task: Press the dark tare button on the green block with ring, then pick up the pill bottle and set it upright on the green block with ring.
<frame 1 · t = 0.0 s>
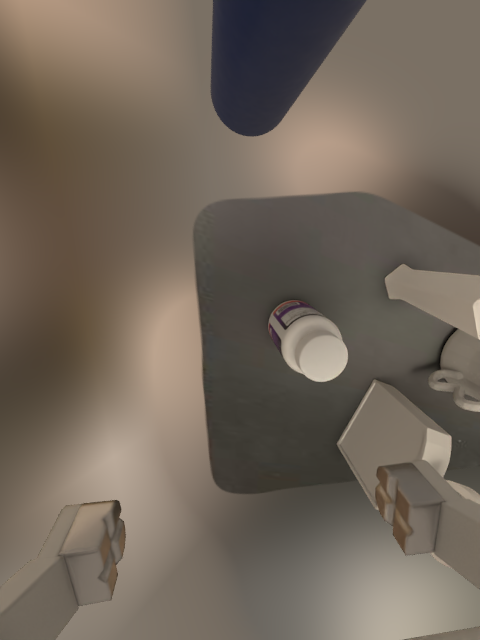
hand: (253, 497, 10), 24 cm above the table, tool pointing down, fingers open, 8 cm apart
pill bottle: (291, 322, 35), on the table
mug: (458, 356, 38), on the table
perfume bottle: (398, 282, 35), on the table
gravestone: (363, 414, 39), on the table
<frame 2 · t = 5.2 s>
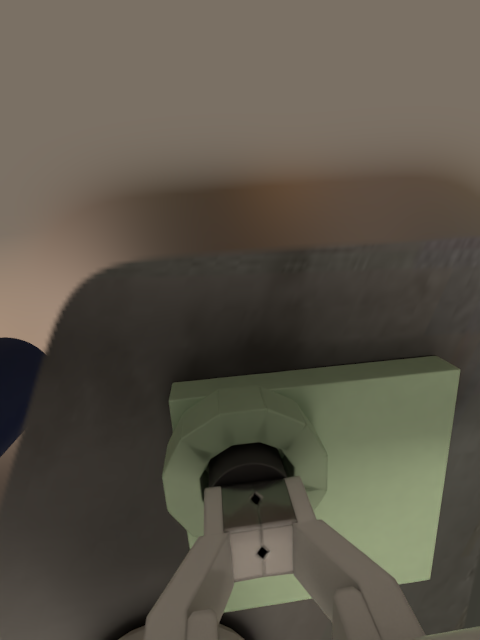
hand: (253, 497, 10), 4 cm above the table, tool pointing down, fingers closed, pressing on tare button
green block with ring: (308, 478, 15), on the table
tare button: (247, 477, 11), point 3 cm above the table, slide at -0.7 cm, touching gripper
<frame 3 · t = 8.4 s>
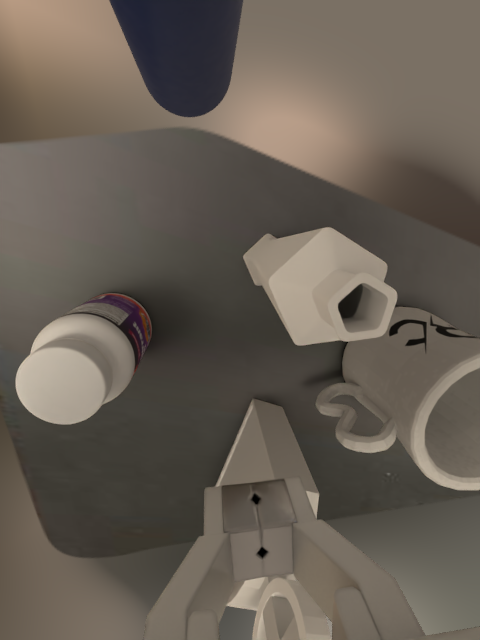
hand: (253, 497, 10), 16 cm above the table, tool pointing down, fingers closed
pill bottle: (117, 325, 24), on the table
mug: (371, 361, 27), on the table
perfume bottle: (266, 260, 24), on the table
gravestone: (247, 446, 28), on the table
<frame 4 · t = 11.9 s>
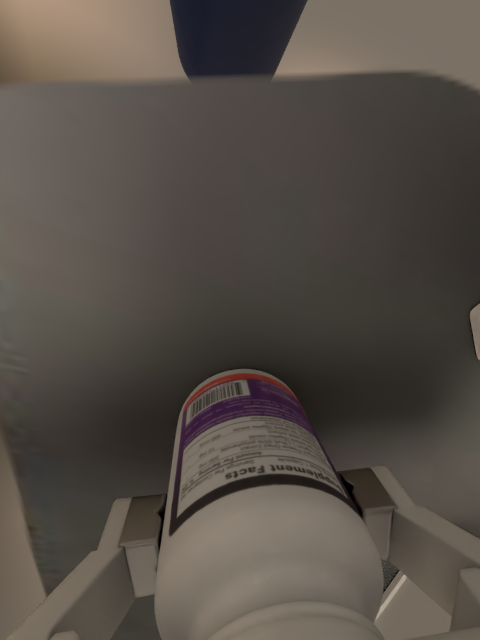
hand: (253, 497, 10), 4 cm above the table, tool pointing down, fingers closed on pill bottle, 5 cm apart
pill bottle: (240, 418, 14), on the table, touching gripper
gravestone: (403, 590, 18), on the table
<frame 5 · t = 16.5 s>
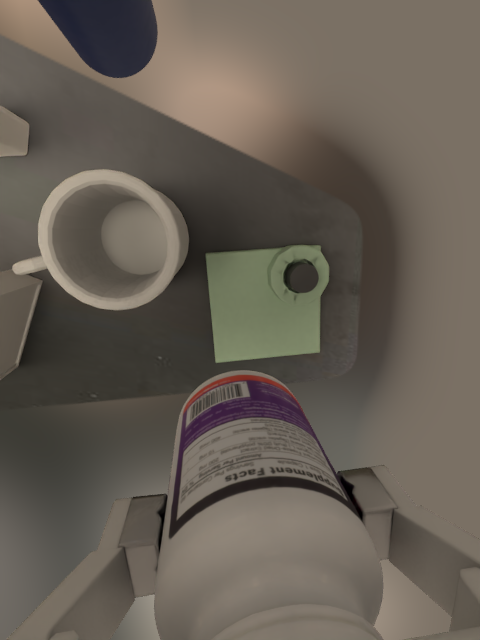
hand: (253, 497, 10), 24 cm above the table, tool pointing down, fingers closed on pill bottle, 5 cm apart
pill bottle: (240, 420, 14), point 20 cm above the table, touching gripper
green block with ring: (263, 303, 33), on the table
mug: (124, 242, 30), on the table
perfume bottle: (5, 133, 27), on the table
gravestone: (16, 319, 31), on the table
tare button: (301, 277, 29), point 4 cm above the table, slide at 0.1 cm
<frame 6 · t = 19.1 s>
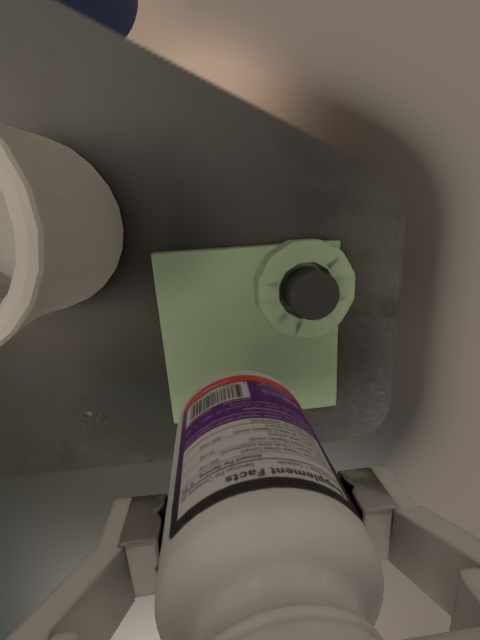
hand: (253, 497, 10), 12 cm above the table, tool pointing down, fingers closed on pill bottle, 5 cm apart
pill bottle: (240, 420, 14), point 8 cm above the table, touching gripper
green block with ring: (249, 330, 21), on the table
mug: (18, 234, 18), on the table
tare button: (310, 293, 17), point 4 cm above the table, slide at 0.1 cm
when the fingers open (6 cm above the table, at t = 21.4 s): pill bottle stays where it is, resting on green block with ring.
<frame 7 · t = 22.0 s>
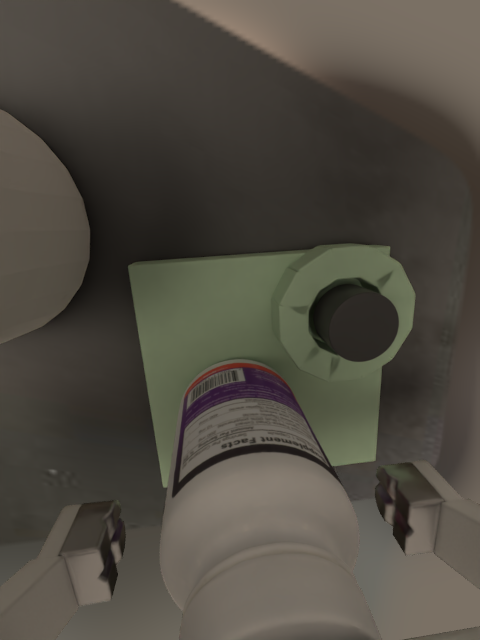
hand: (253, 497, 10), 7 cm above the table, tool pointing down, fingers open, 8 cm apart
pill bottle: (237, 406, 15), point 1 cm above the table, touching green block with ring
green block with ring: (263, 364, 16), on the table
tare button: (353, 321, 12), point 4 cm above the table, slide at 0.1 cm
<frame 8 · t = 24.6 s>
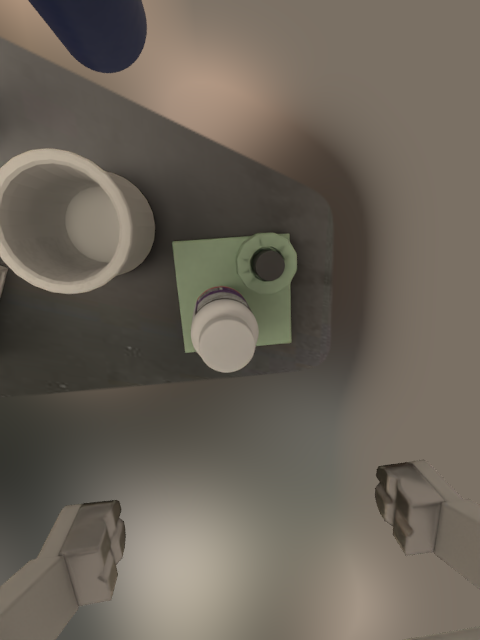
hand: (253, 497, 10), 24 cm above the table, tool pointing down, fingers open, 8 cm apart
pill bottle: (221, 311, 32), point 1 cm above the table, touching green block with ring
green block with ring: (234, 292, 33), on the table
mug: (90, 230, 30), on the table
tare button: (268, 265, 29), point 4 cm above the table, slide at 0.1 cm
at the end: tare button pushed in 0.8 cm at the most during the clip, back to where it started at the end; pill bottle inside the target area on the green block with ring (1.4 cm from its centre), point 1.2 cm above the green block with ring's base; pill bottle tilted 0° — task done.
